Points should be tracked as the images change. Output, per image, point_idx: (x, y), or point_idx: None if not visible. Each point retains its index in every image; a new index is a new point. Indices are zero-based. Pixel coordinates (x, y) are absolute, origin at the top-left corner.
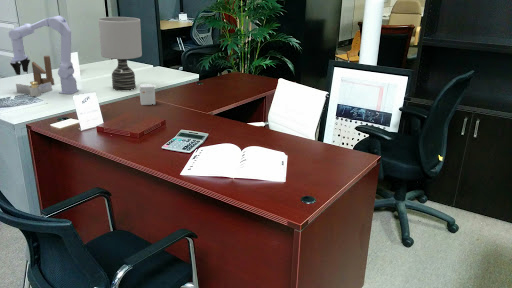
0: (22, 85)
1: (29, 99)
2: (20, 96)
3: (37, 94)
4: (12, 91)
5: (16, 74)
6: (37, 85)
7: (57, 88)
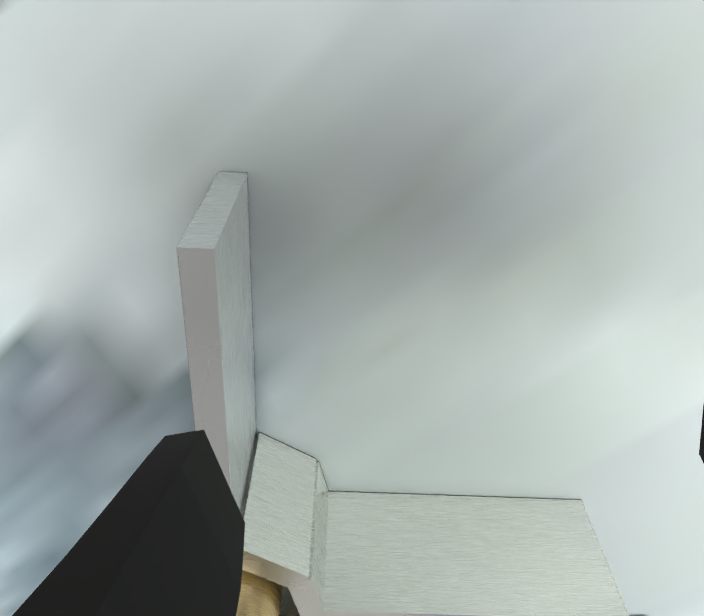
0: (197, 413)
1: (52, 550)
2: (71, 387)
3: None
4: (224, 26)
5: (157, 452)
6: (319, 609)
7: (686, 517)
